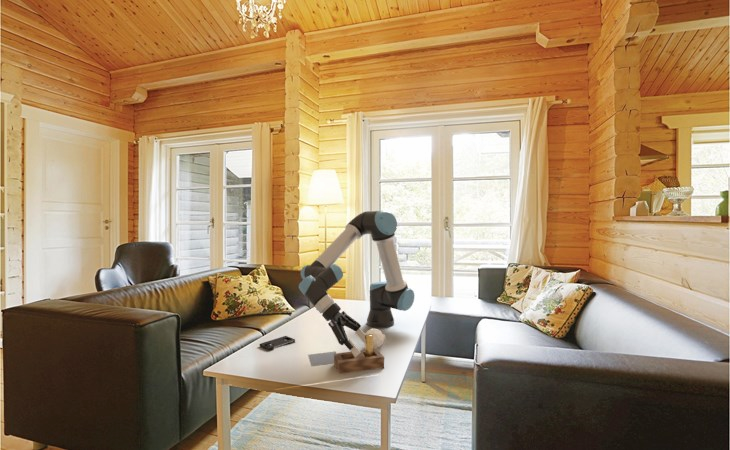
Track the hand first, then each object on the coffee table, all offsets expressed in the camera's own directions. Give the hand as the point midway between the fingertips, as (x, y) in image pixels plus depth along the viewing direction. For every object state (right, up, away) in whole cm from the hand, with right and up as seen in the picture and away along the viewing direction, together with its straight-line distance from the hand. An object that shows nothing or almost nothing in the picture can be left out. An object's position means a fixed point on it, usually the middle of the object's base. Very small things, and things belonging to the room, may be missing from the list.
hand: (363, 348), depth 136 cm
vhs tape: (-40, -7, +23) cm, 47 cm away
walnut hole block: (-2, -7, -2) cm, 7 cm away
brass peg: (+2, -7, -1) cm, 7 cm away
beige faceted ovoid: (+6, -7, +18) cm, 20 cm away
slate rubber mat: (-16, -7, +6) cm, 18 cm away
